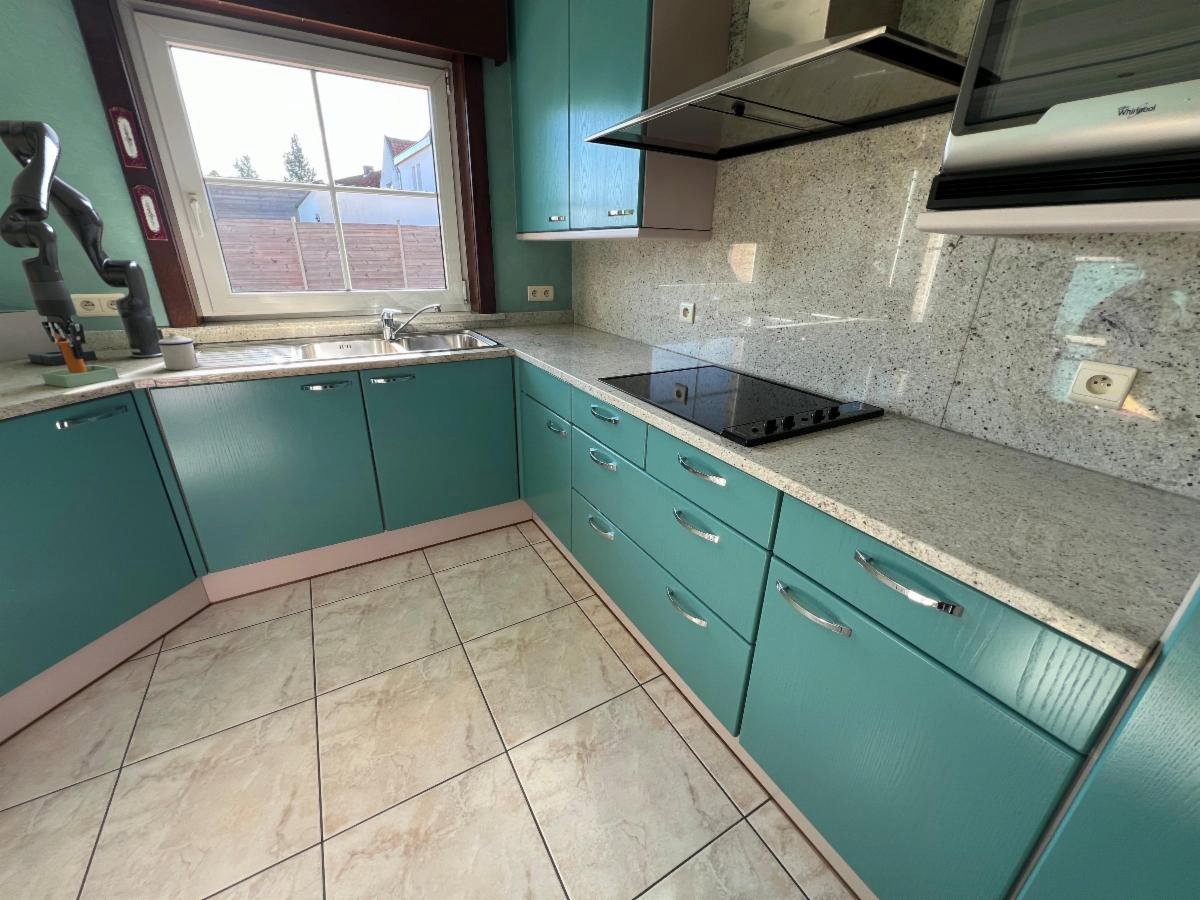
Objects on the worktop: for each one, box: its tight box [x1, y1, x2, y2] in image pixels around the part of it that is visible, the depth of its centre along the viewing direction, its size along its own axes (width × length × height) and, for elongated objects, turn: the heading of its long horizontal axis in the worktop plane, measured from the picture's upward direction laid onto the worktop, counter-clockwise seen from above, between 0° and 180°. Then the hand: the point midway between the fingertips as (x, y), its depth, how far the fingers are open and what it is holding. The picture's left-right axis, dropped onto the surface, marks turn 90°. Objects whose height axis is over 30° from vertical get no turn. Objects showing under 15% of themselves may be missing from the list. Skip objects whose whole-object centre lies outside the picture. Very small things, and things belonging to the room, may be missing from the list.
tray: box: [41, 364, 119, 388], centre depth 146 cm, size 12×10×3 cm
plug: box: [55, 341, 86, 373], centre depth 144 cm, size 5×5×9 cm
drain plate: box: [27, 348, 98, 366], centre depth 170 cm, size 12×12×3 cm
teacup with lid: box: [158, 331, 200, 371], centre depth 164 cm, size 12×9×12 cm
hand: (74, 357), depth 144 cm, fingers closed on plug, 4 cm apart
